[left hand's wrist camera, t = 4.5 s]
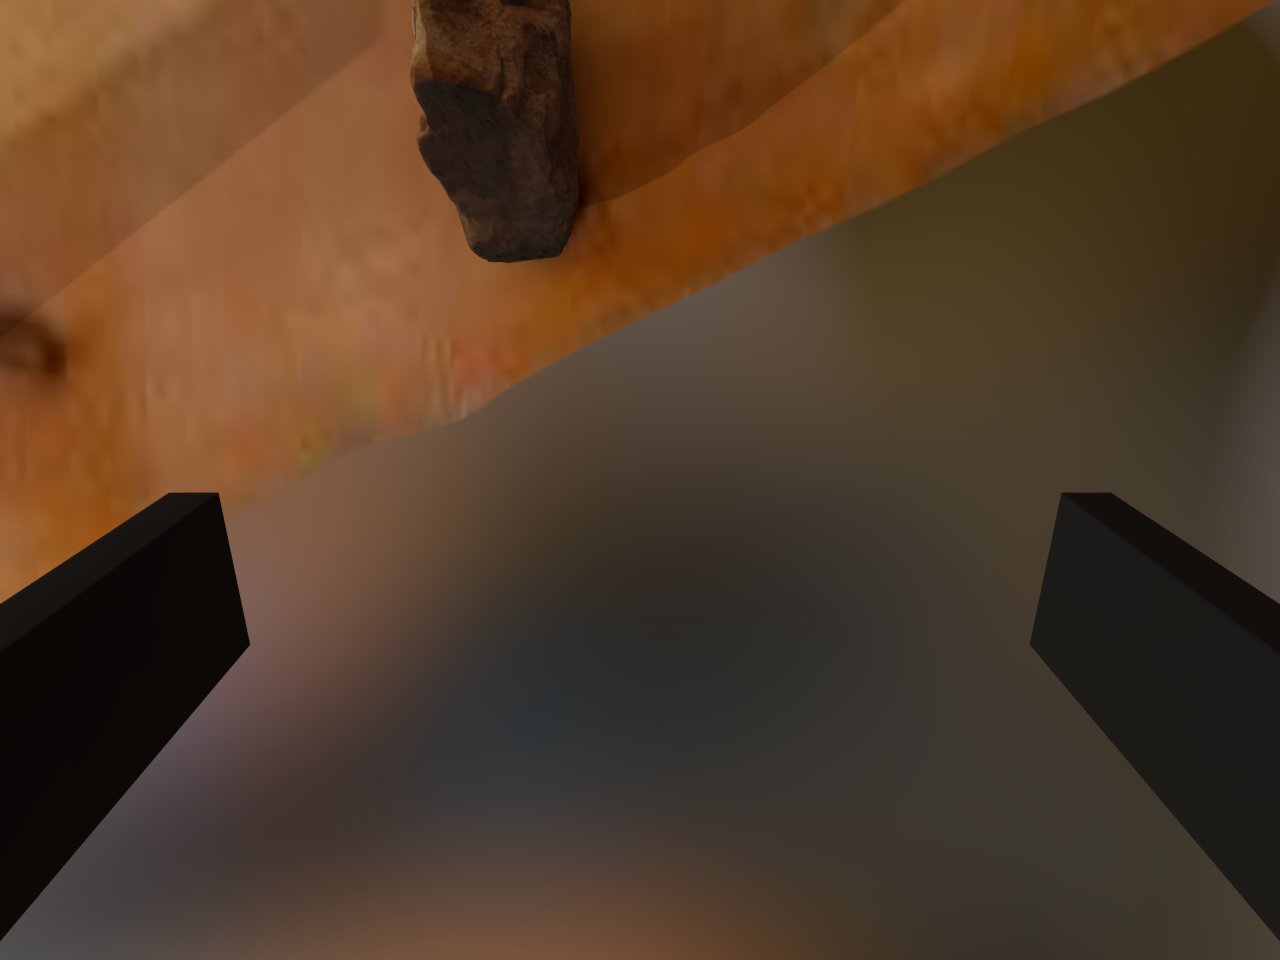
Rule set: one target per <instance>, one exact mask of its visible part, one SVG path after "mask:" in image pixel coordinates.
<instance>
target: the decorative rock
mask: <svg viewBox="0 0 1280 960" xmlns="http://www.w3.org/2000/svg"><path fill="white" fill-rule="evenodd" d="M411 3H412V8H413V9H412V22H413V29H414V35H415V38H416V41H415V44H414V47H413V50H412V57H411V68H410V81H411V85H412V88H413V91H414V93H415V96H416V99H417V101H418V103H419V104H420V106H421V107H422V109H423V113H422V115H421V117H420V125H419V128H418V130H417V132H416V138H417V142H418V146H419V150H420V153H421V155H422V158H423V160H424V162H425V164H426V165H427V167H428V169H429V171H430V172H431V173H432V174H433V175H434V176H435V177H436V178H437V179H438V180H439V181H440V183H441V184H442V185H443V187H444V189H445V191H446V193H447V195H448V197H449V199H450V200H451V201H452V202H453V203H454V204H455V205H456V207H457V210H458V214H459V217H460V220H461V223H462V226H463V229H464V232H465V237H466V241H467V243H468V245H469V247H470V249H471V250H472V251H473V252H474V253H475V254H476V255H478V256H479V257H481V258H483V259H486V260H487V261H488V262H505V263H512V262H520V261H526V260H533V259H542V258H552V257H556V256H559V255H560V254H561V253H562V250H563V248H564V246H565V245H566V243H567V241H568V238H569V236H570V235H571V231H572V228H573V213H574V211H575V209H576V208H577V206H578V202H579V186H578V177H577V152H578V147H579V127H578V120H577V114H576V98H575V93H574V87H573V82H572V64H571V52H570V41H571V33H570V22H571V10H570V4H569V1H568V0H411Z"/></svg>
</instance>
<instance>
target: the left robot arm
mask: <svg viewBox="0 0 1280 960" xmlns="http://www.w3.org/2000/svg"><path fill="white" fill-rule="evenodd" d="M249 645H250V641H249V637H248V632H247V627H246V622H245V618H244V613H243V608H242V603H241V598H240V594H239V589H238V584H237V579H236V575H235V570H234V565H233V560H232V555H231V551H230V546H229V541H228V536H227V531H226V527H225V522H224V517H223V512H222V507H221V503H220V498H219V493H168V494H166V495H165V496H163V497H162V498H160V499H159V500H157V501H156V502H154V503H153V504H151V505H150V506H148V507H147V508H145V509H144V510H142V511H141V512H139V513H138V514H136V515H135V516H133V517H132V518H130V519H129V520H127V521H126V522H124V523H122V524H121V525H119V526H118V527H116V528H115V529H113V530H112V531H110V532H109V533H107V534H106V535H104V536H103V537H101V538H100V539H98V540H97V541H95V542H94V543H92V544H91V545H89V546H88V547H86V548H85V549H83V550H82V551H80V552H79V553H77V554H75V555H74V556H72V557H71V558H69V559H68V560H66V561H65V562H63V563H62V564H60V565H59V566H57V567H56V568H54V569H53V570H51V571H50V572H48V573H47V574H45V575H44V576H42V577H41V578H39V579H38V580H36V581H35V582H33V583H31V584H30V585H28V586H27V587H25V588H24V589H22V590H21V591H19V592H18V593H16V594H15V595H13V596H12V597H10V598H9V599H7V600H6V601H4V602H3V603H1V604H0V941H1V940H2V939H3V937H4V936H5V935H6V934H7V932H8V931H9V930H10V929H11V928H12V927H13V925H14V924H15V923H16V922H17V921H18V919H19V918H20V917H21V916H22V915H23V914H24V912H25V911H26V910H27V909H28V908H29V906H30V905H31V904H32V903H33V902H34V901H35V899H36V898H37V897H38V896H39V895H40V893H41V892H42V891H43V890H44V889H45V887H46V886H47V885H48V884H49V883H50V882H51V880H52V879H53V878H54V877H55V876H56V874H57V873H58V872H59V871H60V870H61V869H62V867H63V866H64V865H65V864H66V863H67V861H68V860H69V859H70V858H71V857H72V855H73V854H74V853H75V852H76V851H77V850H78V848H79V847H80V846H81V845H82V844H83V842H84V841H85V840H86V839H87V838H88V836H89V835H90V834H91V833H92V832H93V831H94V829H95V828H96V827H97V826H98V825H99V823H100V822H101V821H102V820H103V819H104V817H105V816H106V815H107V814H108V813H109V812H110V810H111V809H112V808H113V807H114V806H115V804H116V803H117V802H118V801H119V800H120V798H121V797H122V796H123V795H124V794H125V793H126V791H127V790H128V789H129V788H130V787H131V785H132V784H133V783H134V782H135V781H136V780H137V778H138V777H139V776H140V775H141V774H142V772H143V771H144V770H145V769H146V768H147V766H148V765H149V764H150V763H151V762H152V761H153V759H154V758H155V757H156V756H157V755H158V753H159V752H160V751H161V750H162V749H163V747H164V746H165V745H166V744H167V743H168V742H169V740H170V739H171V738H172V737H173V736H174V734H175V733H176V732H177V731H178V730H179V728H180V727H181V726H182V725H183V724H184V723H185V721H186V720H187V719H188V718H189V717H190V715H191V714H192V713H193V712H194V711H195V710H196V708H197V707H198V706H199V705H200V704H201V702H202V701H203V700H204V699H205V698H206V696H207V695H208V694H209V693H210V692H211V691H212V689H213V688H214V687H215V686H216V685H217V683H218V682H219V681H220V680H221V679H222V677H223V676H224V675H225V674H226V673H227V672H228V670H229V669H230V668H231V667H232V666H233V664H234V663H235V662H236V661H237V660H238V659H239V657H240V656H241V655H242V654H243V653H244V651H245V650H246V649H247V648H248V647H249ZM1030 645H1031V647H1032V648H1033V649H1034V650H1035V651H1036V653H1037V654H1038V655H1039V656H1040V657H1041V658H1042V660H1043V661H1044V662H1045V663H1046V664H1047V666H1048V667H1049V668H1050V669H1051V670H1052V672H1053V673H1054V674H1055V675H1056V676H1057V677H1058V679H1059V680H1060V681H1061V682H1062V683H1063V685H1064V686H1065V687H1066V688H1067V689H1068V691H1069V692H1070V693H1071V694H1072V695H1073V696H1074V698H1075V699H1076V700H1077V701H1078V702H1079V704H1080V705H1081V706H1082V707H1083V708H1084V710H1085V711H1086V712H1087V713H1088V714H1089V715H1090V717H1091V718H1092V719H1093V720H1094V721H1095V723H1096V724H1097V725H1098V726H1099V727H1100V728H1101V730H1102V731H1103V732H1104V733H1105V734H1106V736H1107V737H1108V738H1109V739H1110V740H1111V741H1112V743H1113V744H1114V745H1115V746H1116V747H1117V749H1118V750H1119V751H1120V752H1121V753H1122V755H1123V756H1124V757H1125V758H1126V759H1127V761H1128V762H1129V763H1130V764H1131V765H1132V766H1133V768H1134V769H1135V770H1136V771H1137V772H1138V774H1139V775H1140V776H1141V777H1142V778H1143V779H1144V781H1145V782H1146V783H1147V784H1148V785H1149V787H1150V788H1151V789H1152V790H1153V791H1154V793H1155V794H1156V795H1157V796H1158V797H1159V799H1160V800H1161V801H1162V802H1163V803H1164V804H1165V806H1166V807H1167V808H1168V809H1169V810H1170V812H1171V813H1172V814H1173V815H1174V816H1175V817H1176V819H1177V820H1178V821H1179V822H1180V823H1181V825H1182V826H1183V827H1184V828H1185V829H1186V831H1187V832H1188V833H1189V834H1190V835H1191V836H1192V838H1193V839H1194V840H1195V841H1196V842H1197V844H1198V845H1199V846H1200V847H1201V848H1202V850H1203V851H1204V852H1205V853H1206V854H1207V855H1208V857H1209V858H1210V859H1211V860H1212V861H1213V863H1214V864H1215V865H1216V866H1217V867H1218V869H1219V870H1220V871H1221V872H1222V873H1223V874H1224V876H1225V877H1226V878H1227V879H1228V880H1229V881H1230V883H1231V884H1232V885H1233V886H1234V887H1235V889H1236V890H1237V891H1238V892H1239V893H1240V895H1241V896H1242V897H1243V898H1244V899H1245V901H1246V902H1247V903H1248V904H1249V905H1250V906H1251V908H1252V909H1253V910H1254V911H1255V912H1256V914H1257V915H1258V916H1259V917H1260V918H1261V920H1262V921H1263V922H1264V923H1265V924H1266V925H1267V927H1268V928H1269V929H1270V930H1271V931H1272V933H1273V934H1274V935H1275V936H1276V937H1277V939H1278V940H1279V941H1280V604H1279V603H1277V602H1276V601H1274V600H1273V599H1271V598H1270V597H1268V596H1267V595H1265V594H1264V593H1262V592H1261V591H1259V590H1258V589H1256V588H1255V587H1253V586H1251V585H1250V584H1249V583H1247V582H1245V581H1244V580H1242V579H1241V578H1239V577H1238V576H1236V575H1235V574H1233V573H1232V572H1230V571H1229V570H1227V569H1226V568H1224V567H1223V566H1221V565H1220V564H1218V563H1217V562H1215V561H1214V560H1212V559H1210V558H1209V557H1208V556H1206V555H1205V554H1203V553H1201V552H1200V551H1198V550H1197V549H1195V548H1194V547H1192V546H1191V545H1189V544H1188V543H1186V542H1185V541H1183V540H1182V539H1180V538H1179V537H1177V536H1176V535H1174V534H1173V533H1171V532H1170V531H1168V530H1167V529H1165V528H1164V527H1162V526H1161V525H1159V524H1158V523H1156V522H1154V521H1153V520H1151V519H1150V518H1148V517H1147V516H1145V515H1144V514H1142V513H1141V512H1139V511H1138V510H1136V509H1135V508H1133V507H1132V506H1130V505H1129V504H1127V503H1126V502H1124V501H1123V500H1121V499H1120V498H1118V497H1117V496H1115V495H1113V494H1112V493H1061V498H1060V503H1059V508H1058V512H1057V517H1056V522H1055V527H1054V531H1053V536H1052V541H1051V546H1050V551H1049V555H1048V560H1047V565H1046V570H1045V574H1044V579H1043V584H1042V589H1041V594H1040V598H1039V603H1038V608H1037V613H1036V617H1035V622H1034V627H1033V632H1032V637H1031V642H1030Z"/></svg>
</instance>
